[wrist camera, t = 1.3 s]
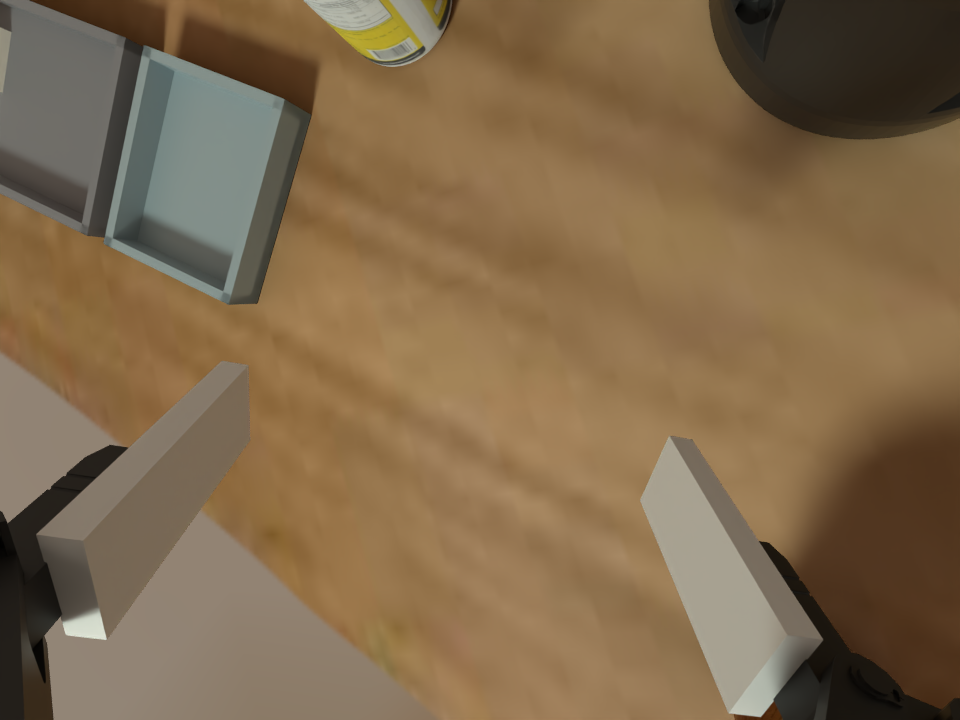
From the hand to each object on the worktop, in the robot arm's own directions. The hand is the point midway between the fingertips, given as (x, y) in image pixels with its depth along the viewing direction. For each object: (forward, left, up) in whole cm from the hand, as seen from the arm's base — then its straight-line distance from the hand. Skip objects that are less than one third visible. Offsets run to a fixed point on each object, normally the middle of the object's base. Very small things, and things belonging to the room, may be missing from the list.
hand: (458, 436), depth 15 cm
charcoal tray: (-3, -38, -13) cm, 41 cm away
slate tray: (-3, -23, -13) cm, 27 cm away
